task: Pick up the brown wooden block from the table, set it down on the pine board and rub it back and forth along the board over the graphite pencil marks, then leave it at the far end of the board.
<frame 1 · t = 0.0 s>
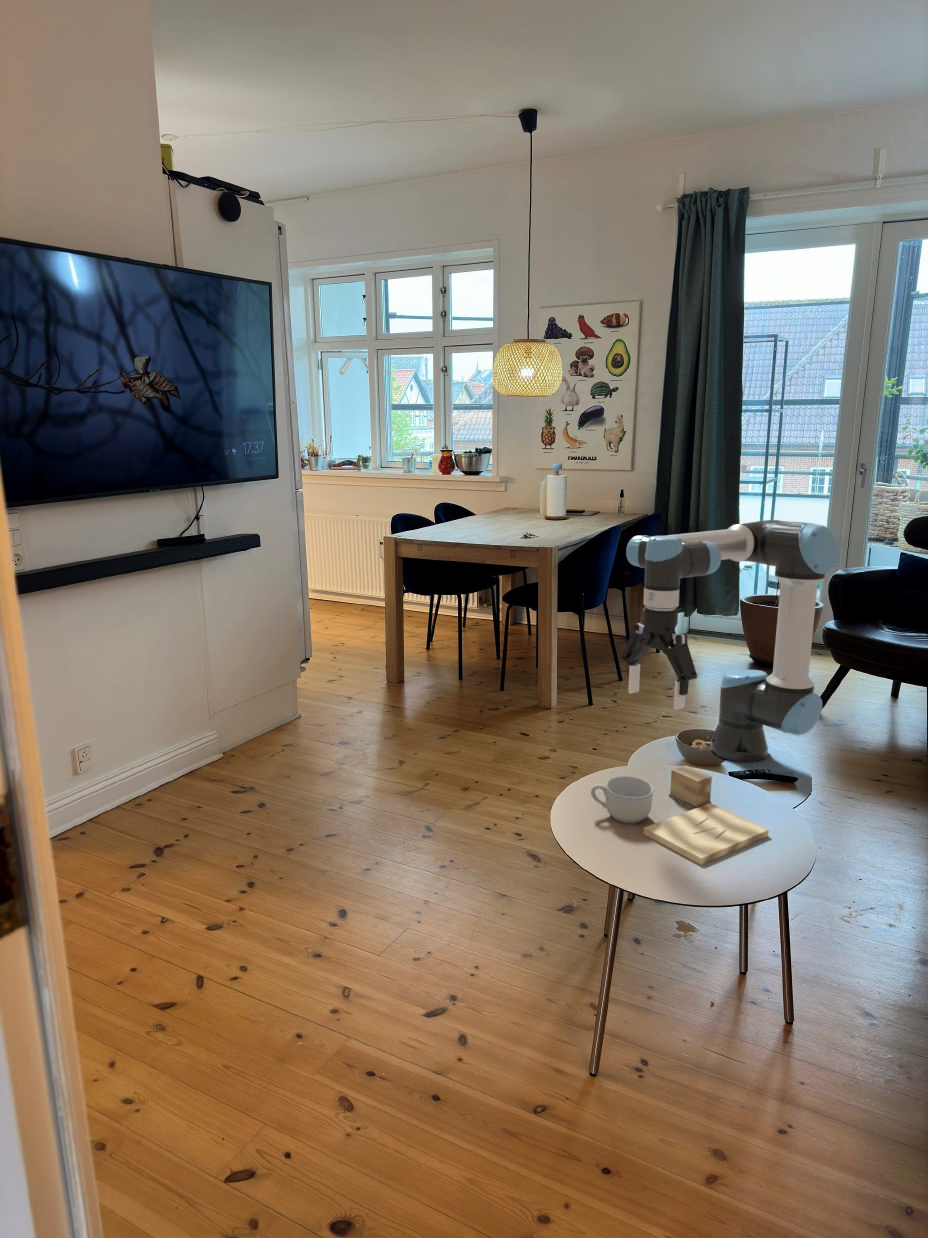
hand: (655, 700, 182), 28 cm above the table, fingers open, 13 cm apart
pine board: (705, 835, 178), on the table
teacup: (620, 817, 187), on the table
brown wooden block: (689, 800, 196), on the table
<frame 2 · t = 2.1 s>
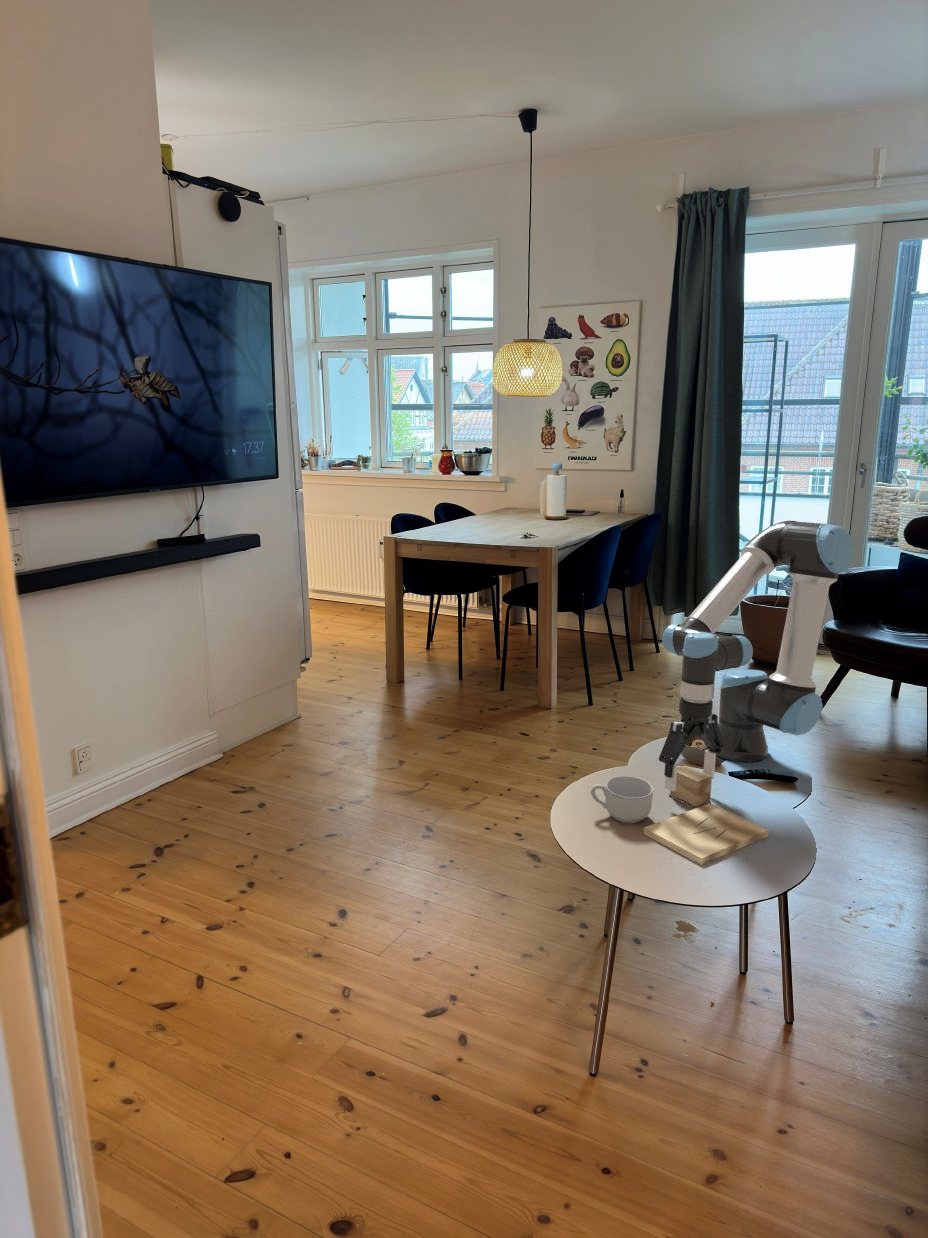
hand: (689, 783, 195), 4 cm above the table, fingers open, 13 cm apart
nothing on the table moved.
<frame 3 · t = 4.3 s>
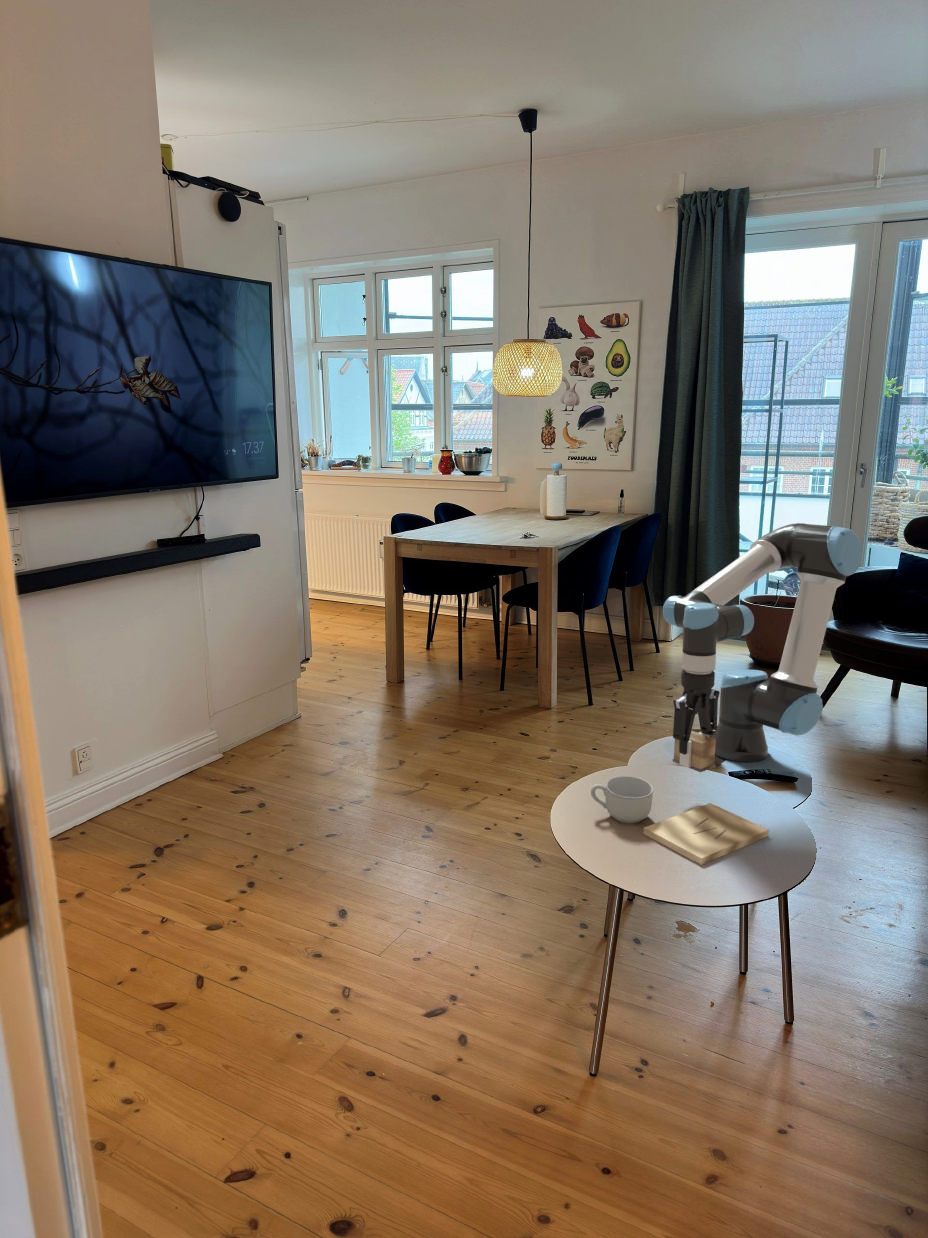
hand: (693, 762, 194), 10 cm above the table, fingers closed on brown wooden block, 5 cm apart
brown wooden block: (693, 764, 194), point 9 cm above the table, touching gripper
everything else where it was.
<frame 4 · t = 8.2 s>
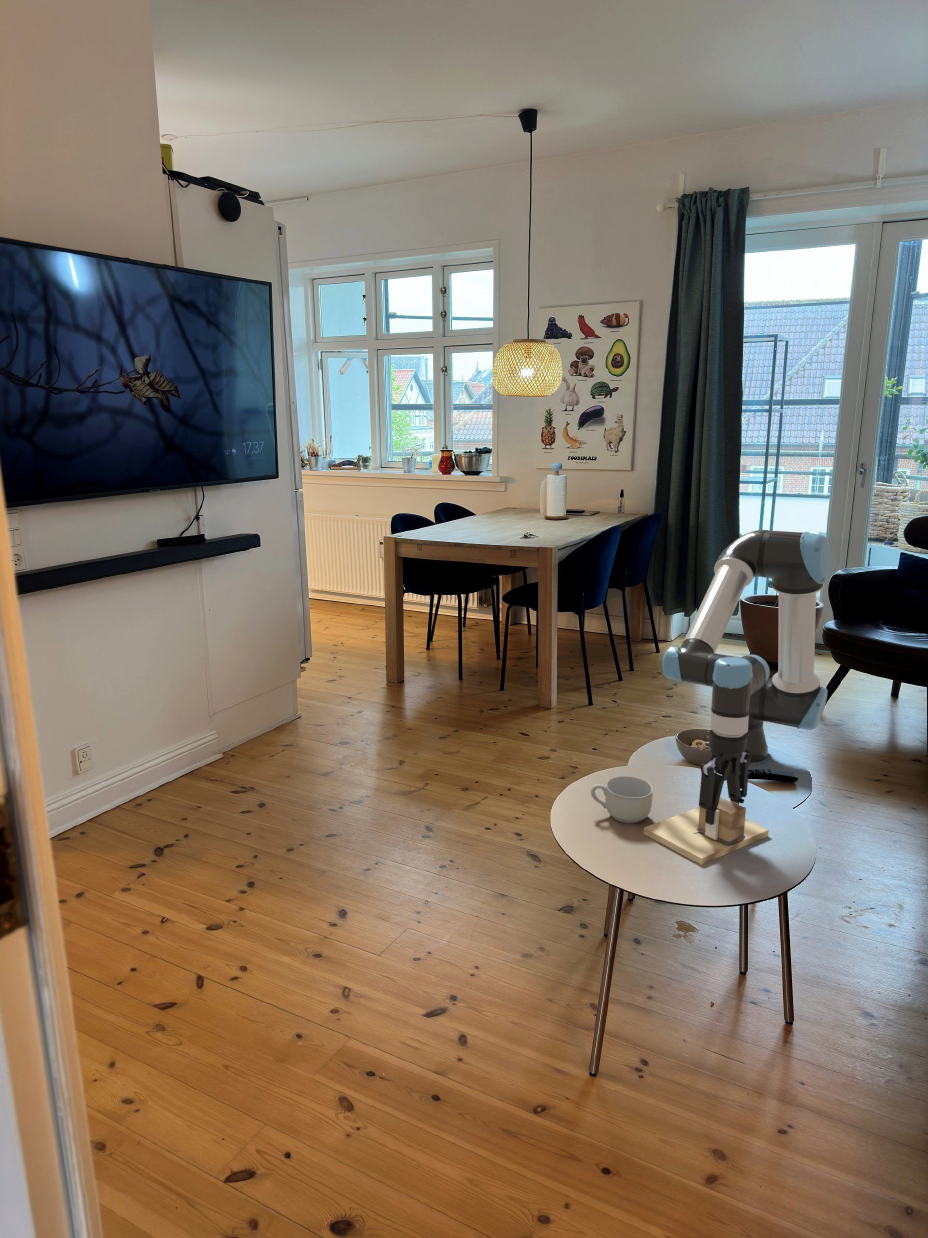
hand: (720, 832, 175), 2 cm above the table, fingers closed on brown wooden block, 5 cm apart
brown wooden block: (720, 834, 175), point 2 cm above the table, touching gripper
everything else where it was.
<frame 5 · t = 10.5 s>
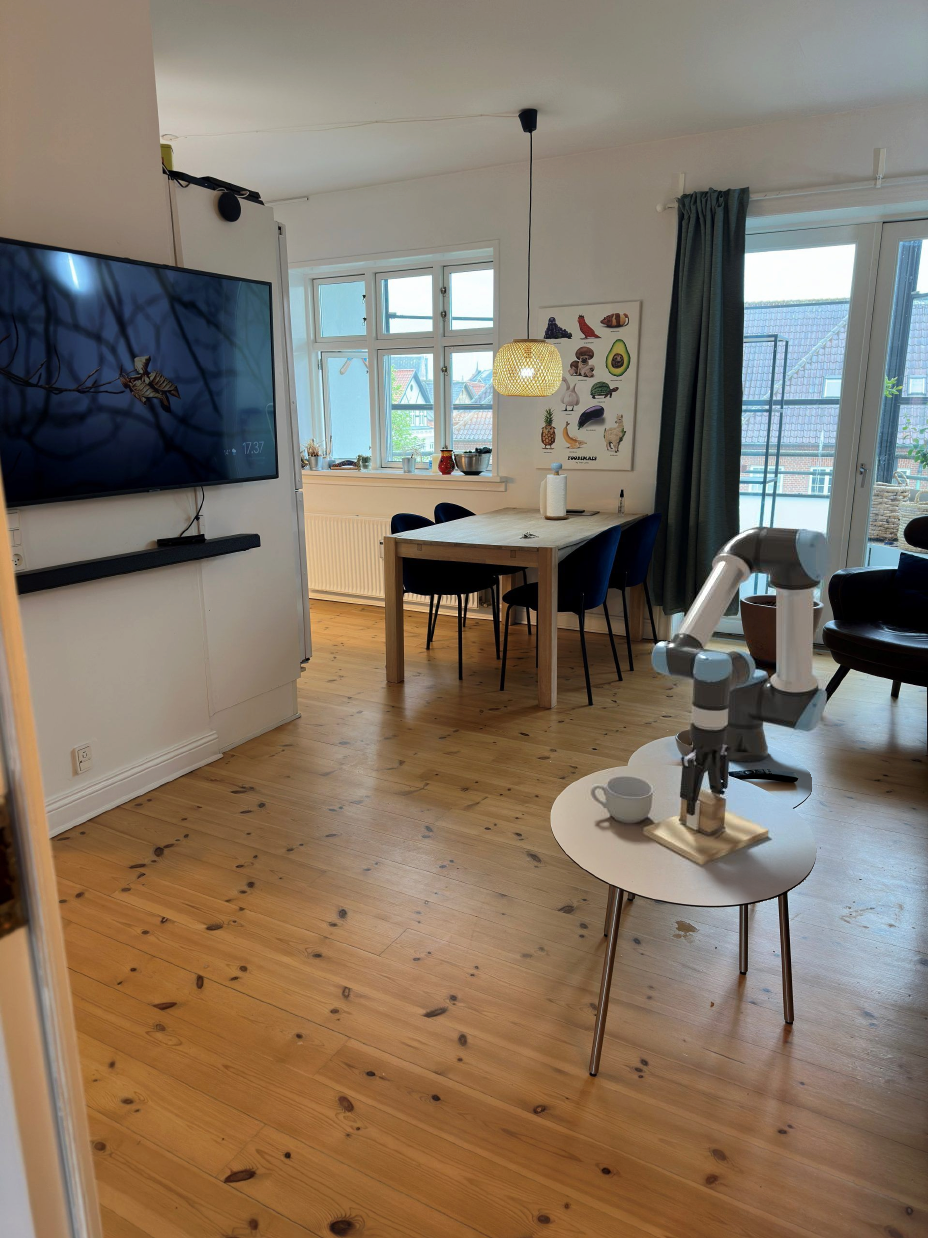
hand: (701, 823, 179), 2 cm above the table, fingers closed on brown wooden block, 5 cm apart
brown wooden block: (701, 825, 179), point 2 cm above the table, touching gripper
everything else where it was.
when the fingers open (2 cm above the table, at t = 12.3 s): brown wooden block stays where it is, resting on pine board.
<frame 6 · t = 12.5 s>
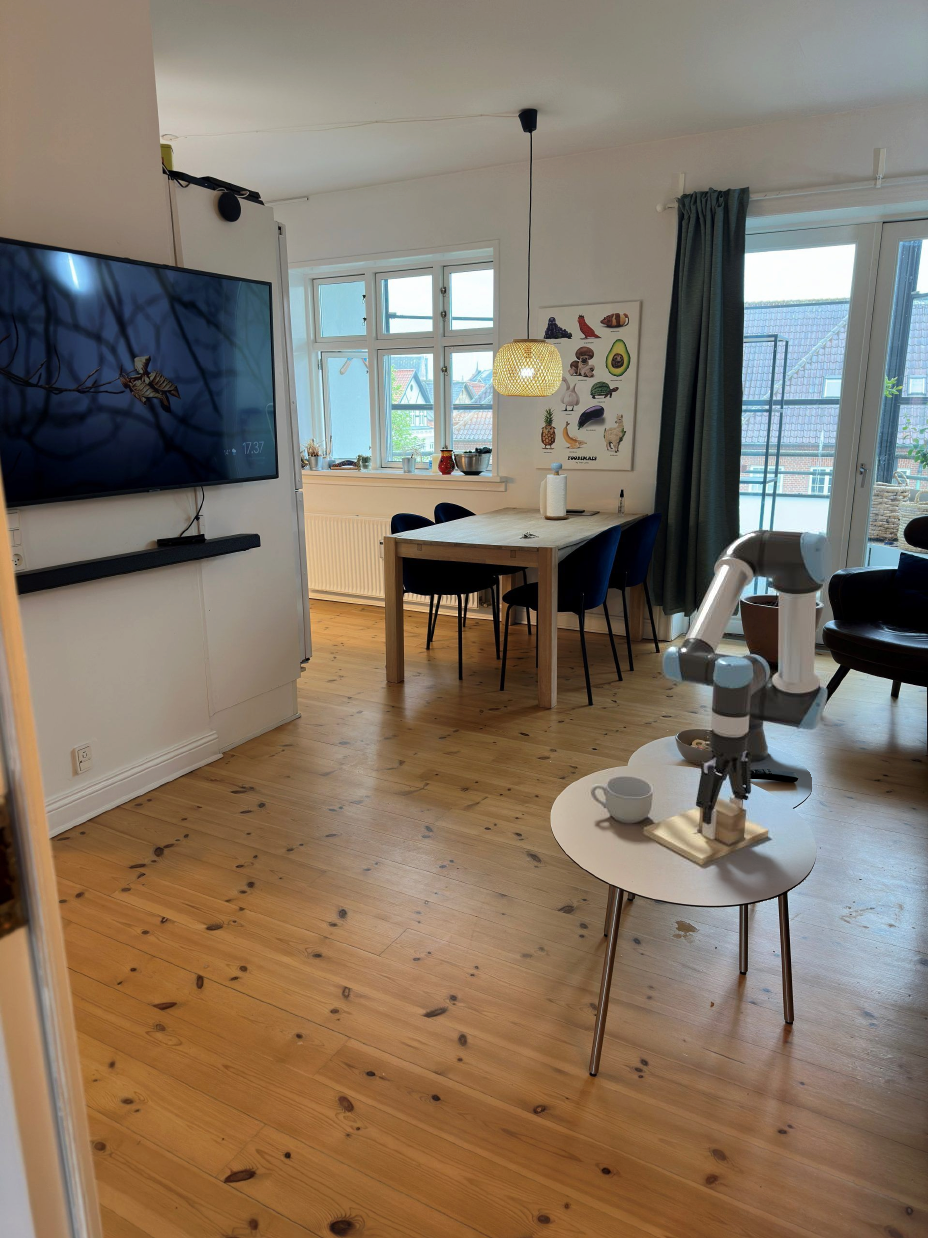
hand: (721, 831, 175), 3 cm above the table, fingers open, 8 cm apart
brown wooden block: (720, 836, 175), point 2 cm above the table, touching pine board
everything else where it was.
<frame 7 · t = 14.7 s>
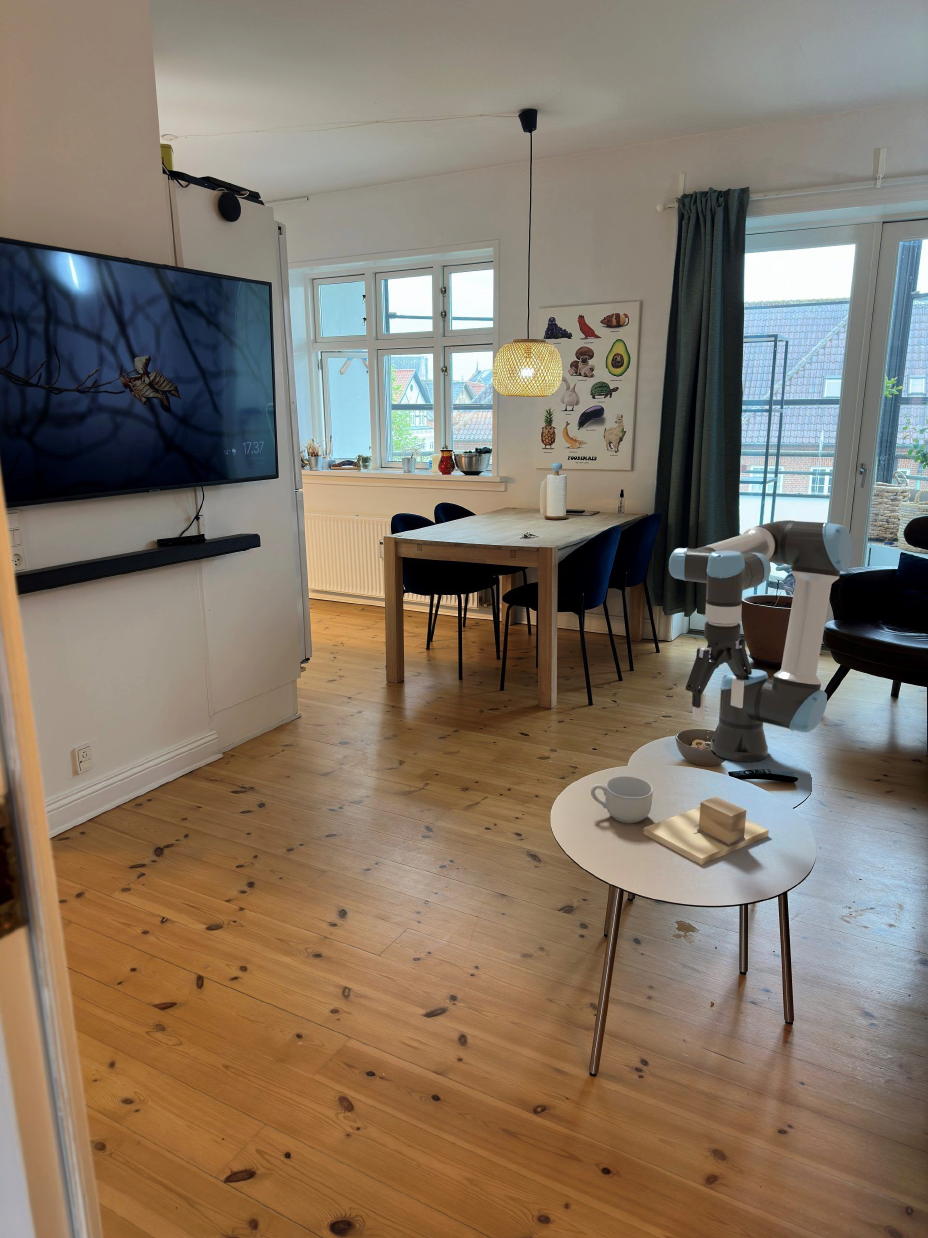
hand: (717, 713, 183), 25 cm above the table, fingers open, 13 cm apart
nothing on the table moved.
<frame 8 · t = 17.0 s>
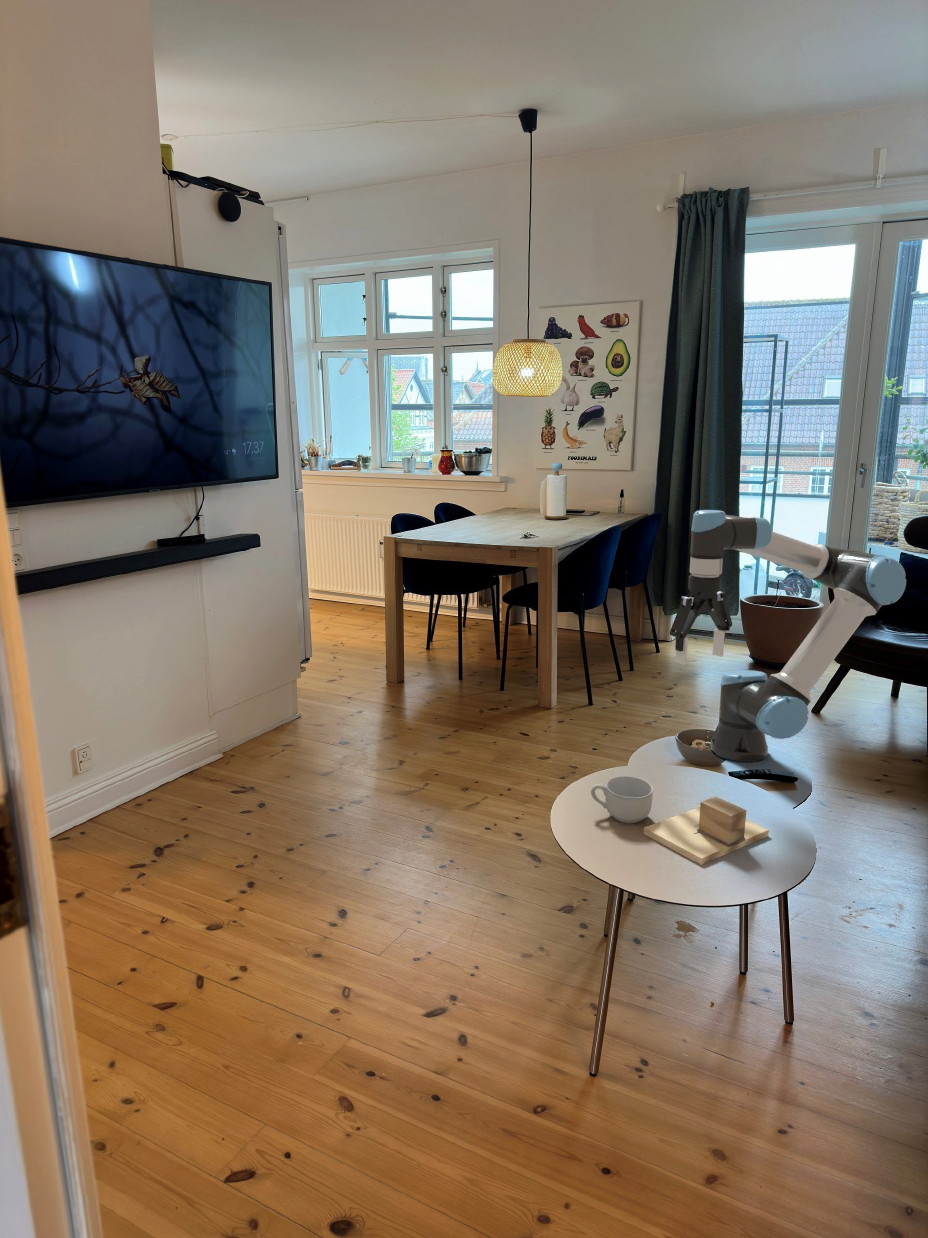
hand: (699, 659, 201), 32 cm above the table, fingers open, 13 cm apart
nothing on the table moved.
at the end: brown wooden block inside the target area on the pine board (0.8 cm from its centre), point 1.5 cm above the pine board's base; brown wooden block tilted 0°; the gripper is holding nothing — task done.
